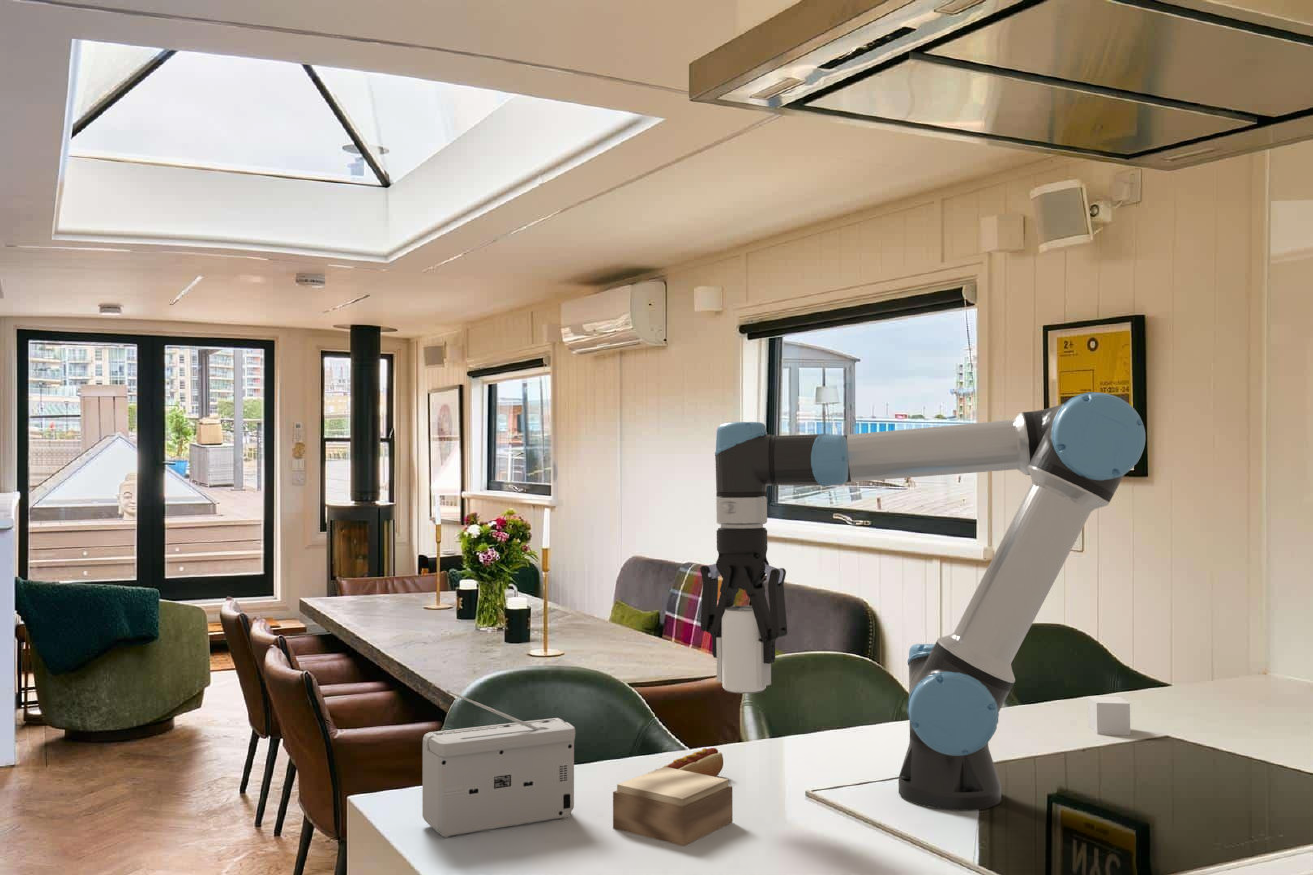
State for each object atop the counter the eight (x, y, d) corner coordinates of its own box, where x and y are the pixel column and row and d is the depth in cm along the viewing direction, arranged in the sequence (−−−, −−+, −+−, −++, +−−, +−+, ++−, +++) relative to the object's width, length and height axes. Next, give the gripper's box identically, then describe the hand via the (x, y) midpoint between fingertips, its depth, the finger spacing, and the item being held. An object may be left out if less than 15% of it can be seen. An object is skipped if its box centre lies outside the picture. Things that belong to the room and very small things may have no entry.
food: (683, 798, 161) (683, 765, 162) (653, 792, 165) (653, 760, 165) (730, 777, 173) (730, 746, 173) (701, 772, 176) (701, 741, 176)
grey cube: (1097, 734, 200) (1096, 702, 201) (1088, 727, 206) (1087, 696, 207) (1130, 735, 200) (1129, 703, 200) (1120, 728, 206) (1120, 696, 206)
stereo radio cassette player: (558, 803, 159) (558, 669, 160) (580, 819, 151) (580, 678, 152) (420, 825, 149) (421, 681, 150) (436, 843, 142) (437, 692, 143)
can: (764, 694, 153) (762, 610, 153) (719, 693, 154) (718, 610, 154) (768, 685, 159) (767, 605, 159) (725, 684, 160) (724, 604, 161)
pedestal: (732, 822, 150) (732, 779, 150) (683, 845, 140) (683, 800, 141) (664, 806, 157) (664, 765, 157) (613, 828, 148) (613, 784, 148)
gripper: (674, 525, 160) (676, 679, 159) (785, 528, 149) (788, 694, 148) (702, 523, 166) (704, 672, 165) (811, 526, 155) (813, 685, 154)
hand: (743, 682), depth 157 cm, fingers closed on can, 6 cm apart
